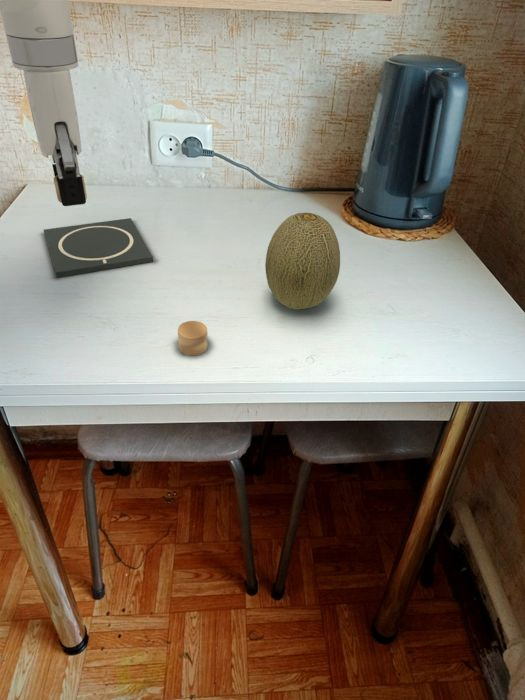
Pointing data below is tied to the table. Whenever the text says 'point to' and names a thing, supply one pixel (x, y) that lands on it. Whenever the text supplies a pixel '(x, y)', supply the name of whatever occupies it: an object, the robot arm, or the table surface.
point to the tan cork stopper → (192, 337)
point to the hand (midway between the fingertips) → (71, 196)
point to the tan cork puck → (58, 188)
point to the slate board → (96, 247)
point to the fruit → (302, 261)
